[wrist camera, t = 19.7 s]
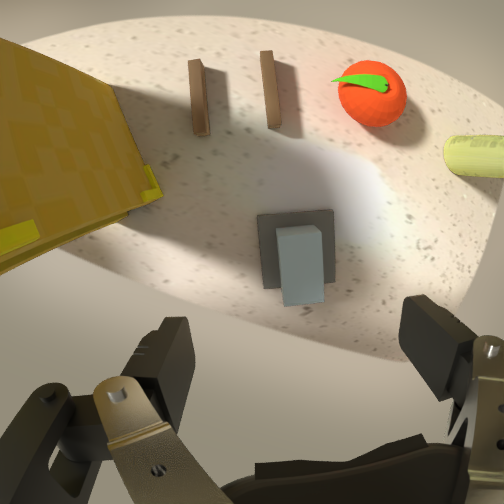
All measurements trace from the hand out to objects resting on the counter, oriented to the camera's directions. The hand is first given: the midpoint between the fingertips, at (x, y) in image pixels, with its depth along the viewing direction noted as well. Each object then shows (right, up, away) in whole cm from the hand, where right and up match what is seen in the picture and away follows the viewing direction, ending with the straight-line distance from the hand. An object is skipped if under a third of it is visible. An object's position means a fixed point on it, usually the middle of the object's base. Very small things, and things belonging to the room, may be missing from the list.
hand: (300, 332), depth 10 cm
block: (+3, +2, +21) cm, 22 cm away
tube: (+23, +15, +18) cm, 33 cm away
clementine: (+10, +19, +17) cm, 28 cm away
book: (-18, +15, +19) cm, 30 cm away
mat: (+3, +3, +22) cm, 22 cm away
